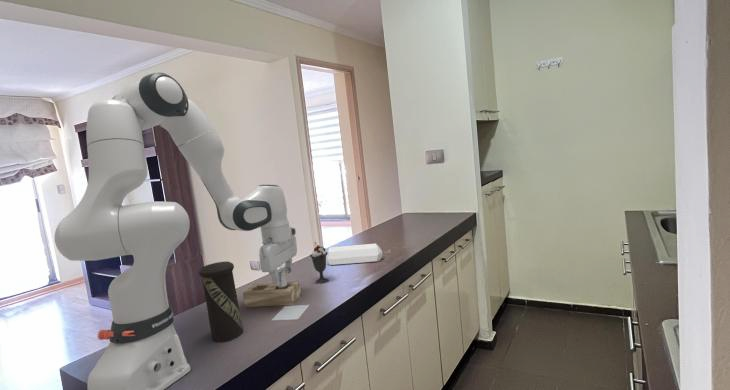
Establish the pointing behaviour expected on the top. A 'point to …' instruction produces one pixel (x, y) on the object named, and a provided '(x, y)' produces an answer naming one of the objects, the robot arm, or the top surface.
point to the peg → (282, 279)
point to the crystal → (354, 254)
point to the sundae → (319, 262)
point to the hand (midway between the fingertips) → (282, 277)
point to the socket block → (271, 294)
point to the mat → (290, 312)
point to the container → (221, 301)
